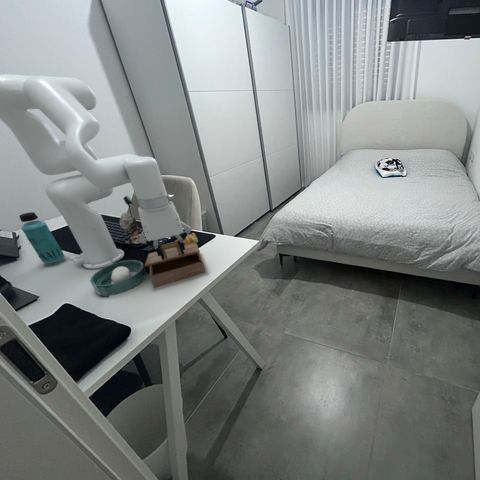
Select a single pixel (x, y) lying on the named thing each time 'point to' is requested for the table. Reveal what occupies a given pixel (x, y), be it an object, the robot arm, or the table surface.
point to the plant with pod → (129, 223)
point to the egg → (120, 274)
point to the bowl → (106, 288)
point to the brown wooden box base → (176, 269)
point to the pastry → (190, 239)
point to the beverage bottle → (41, 238)
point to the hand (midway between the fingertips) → (172, 253)
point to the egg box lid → (171, 252)
